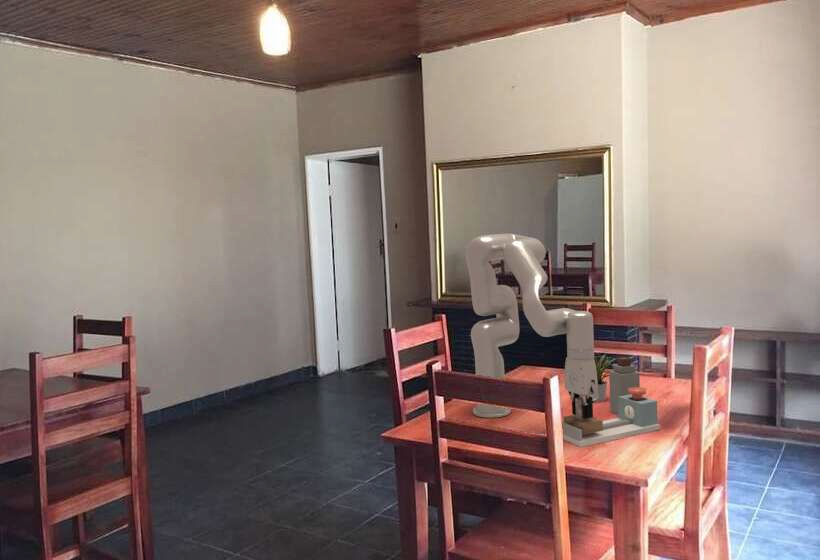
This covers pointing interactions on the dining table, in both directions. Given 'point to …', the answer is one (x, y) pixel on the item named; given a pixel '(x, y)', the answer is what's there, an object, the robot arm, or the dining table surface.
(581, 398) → the carriage
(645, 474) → the dining table surface
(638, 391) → the button
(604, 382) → the house plant
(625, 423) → the rail bed
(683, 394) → the dining table surface
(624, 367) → the perfume bottle
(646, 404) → the end cabinet
